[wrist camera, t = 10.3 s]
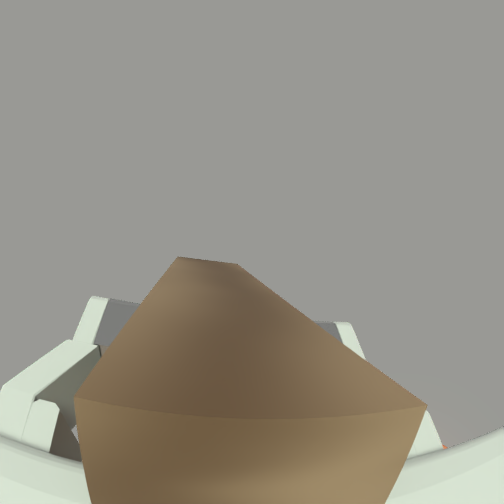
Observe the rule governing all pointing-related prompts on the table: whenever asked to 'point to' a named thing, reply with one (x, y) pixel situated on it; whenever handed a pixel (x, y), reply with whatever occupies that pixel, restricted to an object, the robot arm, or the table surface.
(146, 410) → the walnut strip
